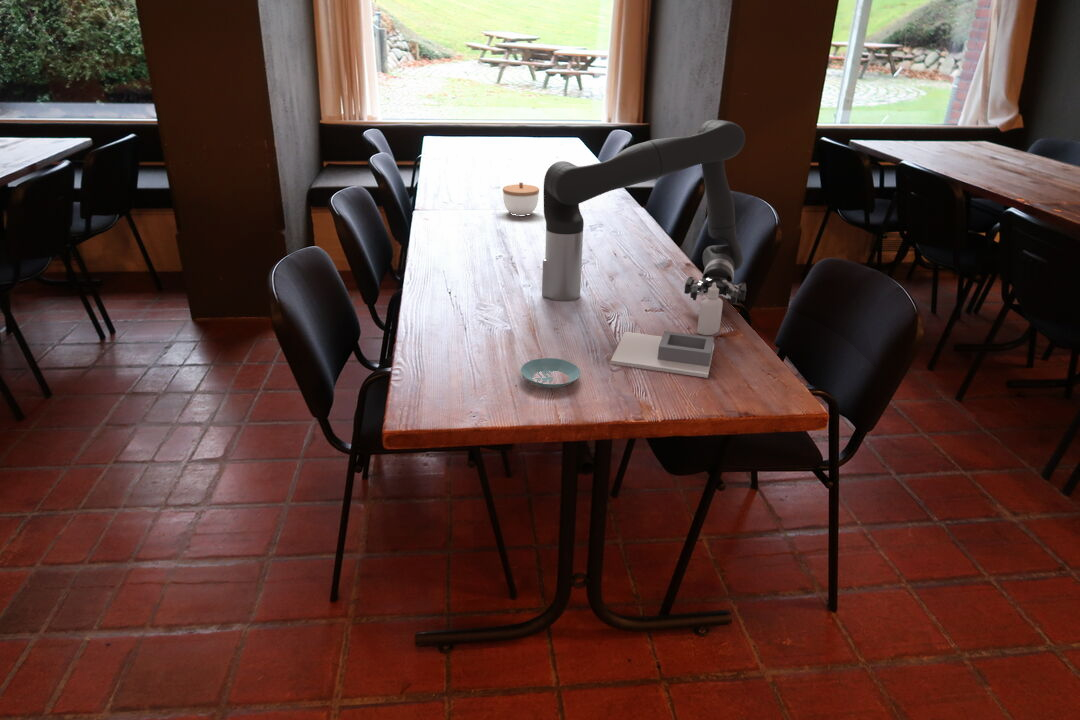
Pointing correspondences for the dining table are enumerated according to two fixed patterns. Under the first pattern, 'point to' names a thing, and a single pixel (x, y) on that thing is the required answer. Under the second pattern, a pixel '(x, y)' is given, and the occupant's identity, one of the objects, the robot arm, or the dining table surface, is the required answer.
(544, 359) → the saucer
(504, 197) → the lidded bowl
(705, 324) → the eye dropper bottle
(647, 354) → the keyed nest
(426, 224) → the dining table surface
